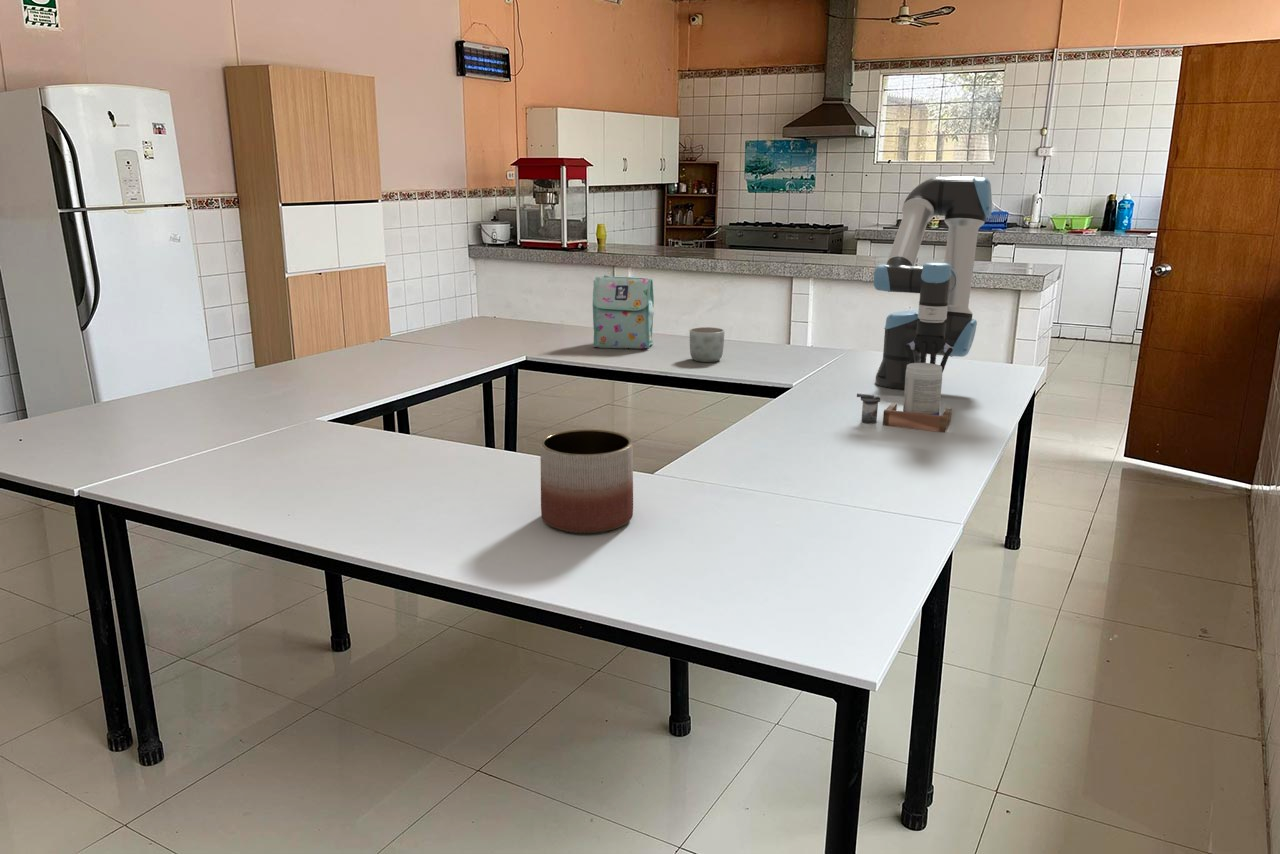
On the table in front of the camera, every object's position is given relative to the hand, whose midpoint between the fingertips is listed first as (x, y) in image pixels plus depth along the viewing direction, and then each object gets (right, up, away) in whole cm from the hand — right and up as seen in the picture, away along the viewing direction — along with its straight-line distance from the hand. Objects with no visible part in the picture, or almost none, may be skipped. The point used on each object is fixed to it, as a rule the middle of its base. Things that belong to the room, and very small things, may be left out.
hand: (924, 404), depth 256 cm
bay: (-5, -5, -10) cm, 12 cm away
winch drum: (-18, -5, -8) cm, 20 cm away
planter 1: (-90, -25, -79) cm, 122 cm away
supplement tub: (-3, -4, -5) cm, 7 cm away
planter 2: (-56, +17, +71) cm, 92 cm away
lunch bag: (-86, +24, +96) cm, 131 cm away
